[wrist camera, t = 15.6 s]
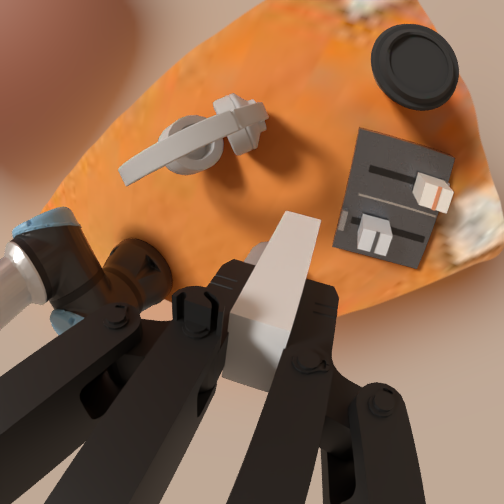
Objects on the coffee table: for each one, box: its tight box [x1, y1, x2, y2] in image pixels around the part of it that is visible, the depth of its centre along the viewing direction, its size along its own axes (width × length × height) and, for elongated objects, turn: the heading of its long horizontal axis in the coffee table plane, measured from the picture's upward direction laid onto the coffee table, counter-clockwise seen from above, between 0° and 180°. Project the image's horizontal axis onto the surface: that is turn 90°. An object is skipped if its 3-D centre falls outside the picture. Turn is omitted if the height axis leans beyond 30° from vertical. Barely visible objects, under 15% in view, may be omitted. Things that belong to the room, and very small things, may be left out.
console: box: [332, 127, 455, 269], centre depth 40 cm, size 14×18×3 cm
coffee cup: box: [371, 24, 459, 111], centre depth 27 cm, size 9×9×15 cm
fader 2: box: [412, 172, 454, 214], centre depth 35 cm, size 4×3×5 cm
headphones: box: [118, 93, 269, 186], centre depth 36 cm, size 19×8×20 cm, turn 114°
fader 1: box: [357, 214, 393, 256], centre depth 40 cm, size 4×3×5 cm
